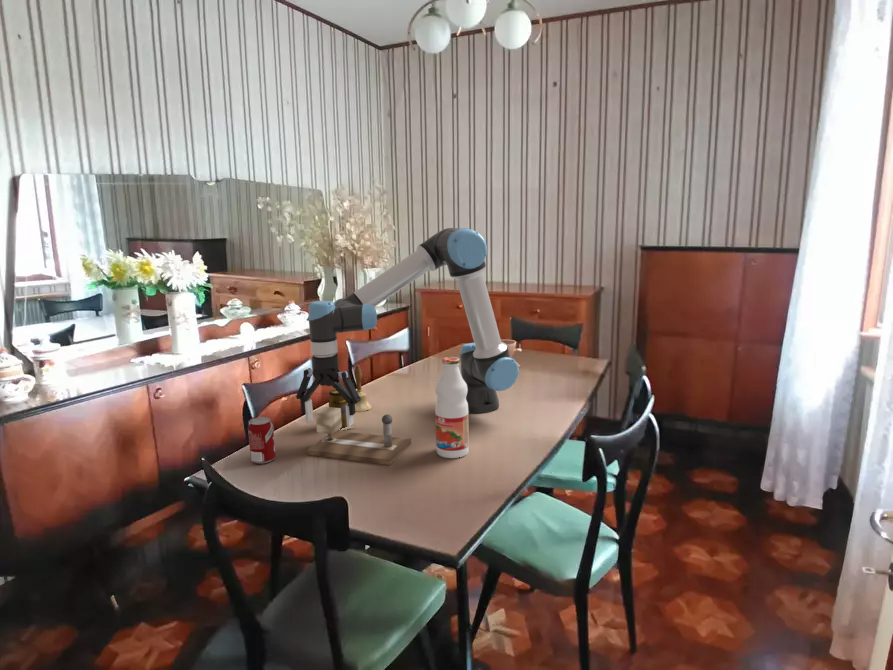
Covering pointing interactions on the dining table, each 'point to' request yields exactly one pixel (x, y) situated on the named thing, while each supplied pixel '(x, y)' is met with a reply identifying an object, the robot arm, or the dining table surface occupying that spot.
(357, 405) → the hand bell
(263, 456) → the soda can
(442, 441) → the fruit juice
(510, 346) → the ceramic jug
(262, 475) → the dining table surface
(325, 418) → the leg
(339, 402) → the condiment
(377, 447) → the hole plate
